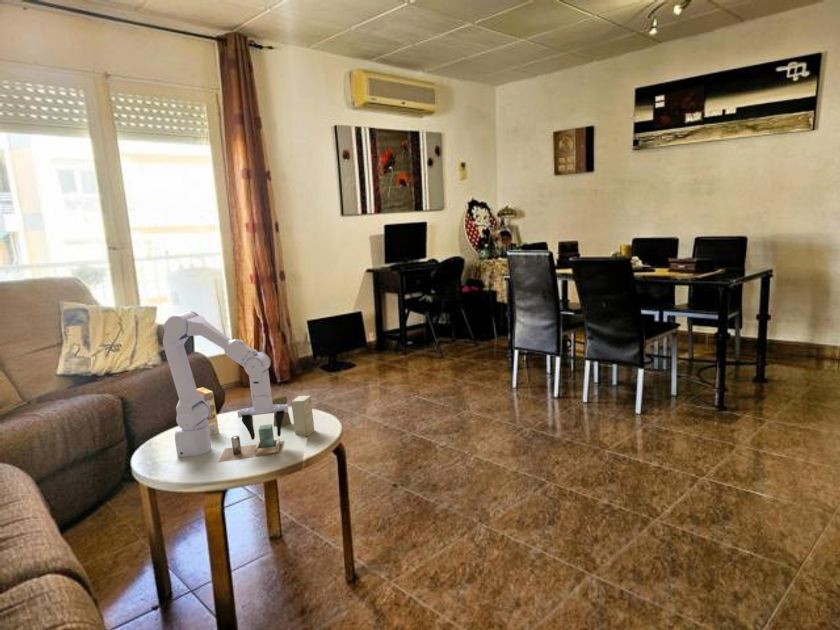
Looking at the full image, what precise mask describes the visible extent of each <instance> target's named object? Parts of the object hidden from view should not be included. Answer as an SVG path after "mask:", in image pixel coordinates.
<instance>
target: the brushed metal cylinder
mask: <svg viewBox="0 0 840 630" xmlns="http://www.w3.org/2000/svg"><path fill="white" fill-rule="evenodd" d="M230 439H231V440H230V441H231V446H232V447H231V448H233V454H234V455H237V454H240V453H241V445H242V444H241V437H240V435H233V436H232V437H231V438H230Z"/></svg>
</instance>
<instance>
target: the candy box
mask: <svg viewBox="0 0 840 630" xmlns="http://www.w3.org/2000/svg"><path fill="white" fill-rule="evenodd" d="M197 392H198V394H200V395H202V396H203V397H204V400H205V402H206V403H207V404H208V406H209V407H210V415H209V417H208V418H207V420H208V429H209V436H211V435H216V434H220V430H219V429H220V428H219V423H218V417H217V416H218V415H217V409H216V404H215V397H214V396H215V395H214V392H213V390H210V389H208V388H206V387H199V388H197Z"/></svg>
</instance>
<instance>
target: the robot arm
mask: <svg viewBox="0 0 840 630" xmlns="http://www.w3.org/2000/svg"><path fill="white" fill-rule="evenodd" d="M162 327H163V330H164V333H163V338H162V346H163V350H164V353H165V355H166V360H167V363H168V367H169V369H170V373H171V377H172V380H173V383H174V386H175V389H176V392H177V396H178V402H177V404H176V407H175V411H176V417H175V420H176V424H177V426H178V427H179V428H177V429H175V432H174V443H175V448H176V454H177V455H176V456H177V458H182V457H193V456H194V457H195V456H201V455H203V454H206V453H209V452H210V451H211V450H212V444H211V438H210V437H211V435H209V429H208V420H207V418H208V417H209V415H210V407H209V406H208V404H207V403H206V402H205V400H204V397H203V396H202V395H200V394H198V392H197V389H198V388H197V385H196V381H195V379H194V375H193V371H192V368H191V364H190V362H189V358H188V354H187V351H186V347H185V343H186V342H187V340H188V339H189V337H194V336H195V337H196V336H201V337H203V338H204V339H206V340H207V341H210V342H211V343H213V344H215V345H217V346H218V347H220V348H222V349H223V350H224V355H225V356H227V357H228V358H230V359H231V360H233V361H234V362H236V363H237V364H239V365H240V366H242V367H243V368H244V371H245V372H246V374H247V375H248V379H249V386H250V395H251V403H252V407H246V408H241V409H238V410H237V417H238V418H240V419H241V422H242V423H243V425H244V426H245V428H246V429H247V431H248V433H249V435H250V438H251V440H252V441H253V440H255V438H256V437H255V429H254V418H253V416H257V415H258V416H259V415H268V414H274V413H276V415H275V417H276V423H277V427H276V430H277V433H276V434H277V437H281V434H282V433H281V432H282V431H281V430H282V427H281V424H282V420H283V417H284V414H285V412H288V413H289V404H288V403H287V404H277V405H273V404H272V398H273V397H272V388H271V382H270V373H269V368H270V367H271V364H272V363H271V361H272V360H271V358H270V357H269V355H268V354H267V353H266V352H263V351H258V350H257V349H254V348H252V347H250V346H248V345H247V344H246V343H245V341H244V340H243V339H238V338H234V339H231V338H229V337H228V336H227V335H226V334H224V333H223V332H221V331H220V330H219V329H218V328H216V327H215V326H214V325H212V324H211V323H210V322H208V321H207V320H206V318H205V317H204V316H202V315H199V313H198V312H196V311H193V310H188V311H186V312H183V313H180V314H176V315H172V316H170V317H168V319H166V321H165V322H164V324H163V326H162Z"/></svg>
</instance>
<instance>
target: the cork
mask: <svg viewBox="0 0 840 630" xmlns="http://www.w3.org/2000/svg"><path fill="white" fill-rule="evenodd" d="M277 404H288V397H287V395H285V394H277V395H274V396H273V397H272V405H277ZM275 415H276V413H273V427H274V428H275V427H276V428H277V423H276V417H275ZM290 425H292V422H291V418H290V413H289V411H288V412H285V414H284V417H283V420H282V424H281V428H282V427H286V426H290Z"/></svg>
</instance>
